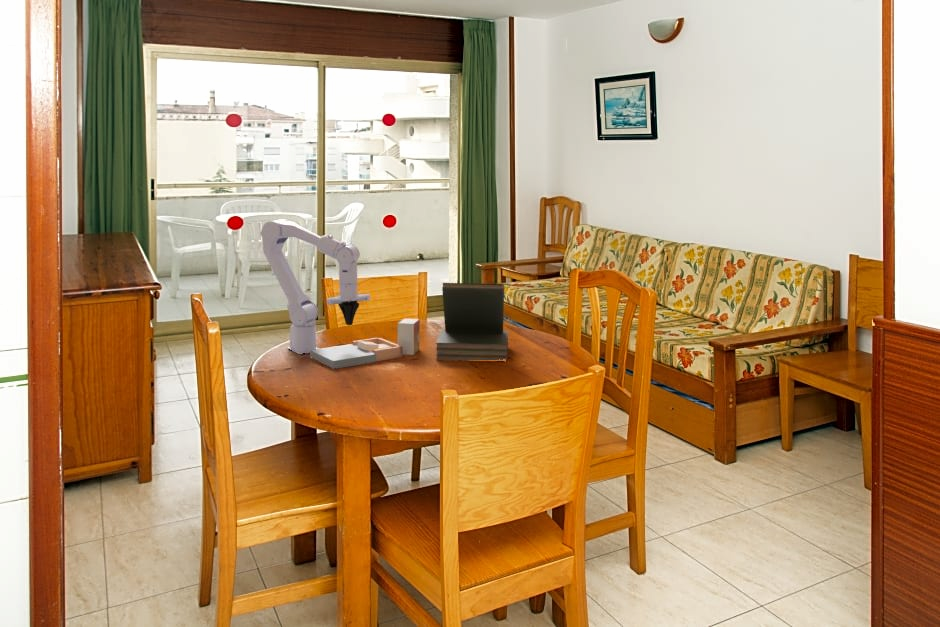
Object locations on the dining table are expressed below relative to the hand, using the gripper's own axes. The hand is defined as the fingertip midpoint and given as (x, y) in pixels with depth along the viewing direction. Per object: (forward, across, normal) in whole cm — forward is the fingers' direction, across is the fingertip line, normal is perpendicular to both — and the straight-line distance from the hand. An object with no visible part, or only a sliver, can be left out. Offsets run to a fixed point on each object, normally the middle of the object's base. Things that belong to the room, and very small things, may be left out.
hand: (349, 324), depth 257 cm
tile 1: (+8, +4, -5) cm, 10 cm away
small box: (+10, +18, -8) cm, 22 cm away
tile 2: (+9, +9, -5) cm, 14 cm away
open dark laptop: (+10, +34, -22) cm, 42 cm away
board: (+10, -5, -5) cm, 12 cm away
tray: (+10, +8, -5) cm, 13 cm away
